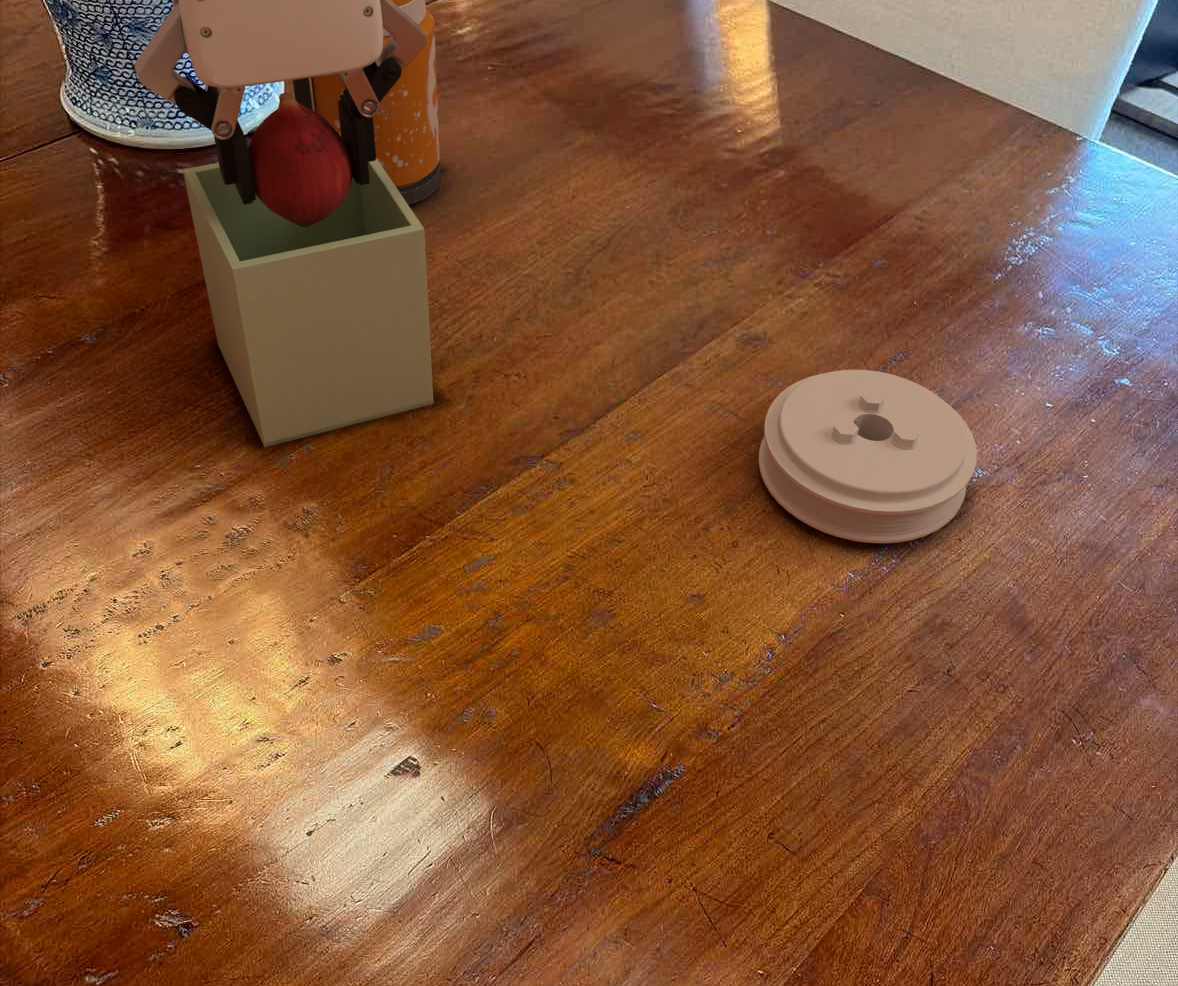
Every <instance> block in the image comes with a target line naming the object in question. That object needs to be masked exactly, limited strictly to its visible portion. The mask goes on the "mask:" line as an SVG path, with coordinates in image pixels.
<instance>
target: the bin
mask: <svg viewBox="0 0 1178 986" xmlns="http://www.w3.org/2000/svg"><path fill="white" fill-rule="evenodd" d="M368 169H369V181H370V182H369V184H364V185H360V184H359V183H356V182H355V180H354V178H353V176H352V182H351V185H350V188H349V191H348V193H347V195H346V198H345V200H344V202H343V204H342V205H340V206H339V207H338V208H337V209H336V210H335V211H334V212H333V213H331V214H330V215H329V216H328V217H326V218H325V219H323V220H321V221H320V222H317V223H315V224H313V225H311V226H309V227H301V226H298V225H296V224H294V223H292V222H290V221H288V220H286V219H285V218H283V217H281V216H279V215H277V214H275V213H273V212H272V211H271V210H270V209H269V208H267V207H266V206H265V205H264V204H263V203H262V202H261V200H260V199H259V198H258V197H257V196H256V195H255V196H256V200H254V201H253V203H251V204H245V205H244V204H243V202H242V200H241V197H240V195H239V193H238V190H237V188H236V186H235V184H229V185H225V184H224V181H223V179H222V176H221V172H220V167H219V162H218V156H214V157H213V158H212V159H211V163H209V164H204V165H198V166H192V167H187V168H183V169H182V173H183V178H184V182H185V188H186V193H187V197H188V202H189V208H190V212H191V217H192V222H193V226H194V232H195V236H196V242H197V246H198V252H199V257H200V261H201V266H202V273H203V276H204V282H205V287H206V290H207V296H208V297H207V298H208V301H209V307H210V310H211V317H212V320H213V326H214V331H215V336H216V342H217V346H218V348H219V350H220V352H221V354H222V357H223V359H224V361H225V363H226V366H227V368H228V370H229V372H230V374H231V376H232V379H233V381H234V383H235V386H236V388H237V390H238V393H239V394H240V397H241V399H242V401H243V403H244V405H245V408H246V409H247V412H248V414H249V417H250V419H251V421H252V423H253V425H254V427H255V430H256V432H257V435H258V437H259V439H260V441H261V443H262V446H263V447H264V448H267V447H268V448H269V447H271V446H275V445H278V444H283V443H287V442H291V441H295V440H299V439H301V438H302V439H303V438H306V437H310V436H314V435H318V434H322V433H325V432H329V431H334V430H337V429H342V428H345V427H349V426H352V425H356V424H357V425H358V424H361V423H364V422H368V421H372V420H376V419H380V418H384V417H387V416H392V415H395V414H400V413H404V412H407V411H411V410H415V409H418V408H422V407H427V406H431V405H433V404H434V391H433V390H434V389H433V387H434V386H433V370H432V368H433V367H432V351H431V349H432V348H431V335H430V334H431V333H430V332H431V331H430V315H429V314H430V311H429V294H428V293H429V292H428V275H427V257H426V237H425V235H426V234H425V227H424V226H423V225H422V223H421V222H420V220H419V218H418V217H417V216H416V214H415V213H414V211H413V210H412V208H411V207H410V205H408V204H407V203H406V201H405V200H404V198H403V197H402V195H401V194H400V192H399V191H398V189H397V188H396V187H395V185H394V184H393V182H392V181H391V179H390V178H389V176H388V175H387V173H386V172H385V170H384V169H383V167H382V166H381V164H380V163H379V161H378V160H377V158H376V161H371V162H368Z"/></svg>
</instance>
